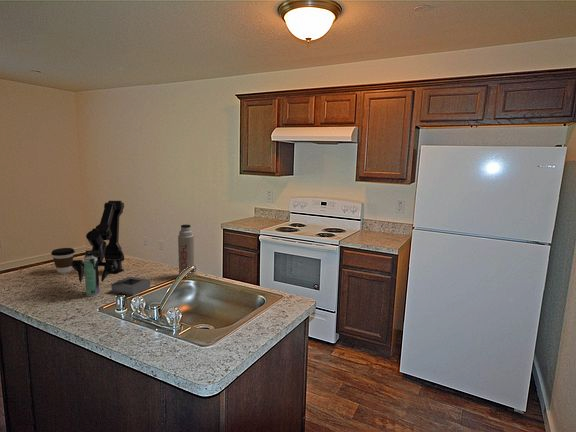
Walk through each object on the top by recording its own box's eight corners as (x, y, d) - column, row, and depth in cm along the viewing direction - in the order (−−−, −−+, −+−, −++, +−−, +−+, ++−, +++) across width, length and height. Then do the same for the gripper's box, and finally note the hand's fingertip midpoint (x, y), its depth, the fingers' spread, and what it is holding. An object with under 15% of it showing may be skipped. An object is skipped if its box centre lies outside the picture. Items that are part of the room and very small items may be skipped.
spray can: (102, 293, 169) (99, 251, 166) (91, 297, 165) (88, 254, 161) (94, 291, 172) (91, 250, 168) (83, 295, 167) (80, 253, 163)
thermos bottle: (188, 279, 191) (187, 227, 187) (175, 277, 194) (174, 225, 190) (197, 274, 199) (196, 224, 194) (185, 272, 202) (184, 223, 197)
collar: (130, 284, 182) (129, 276, 182) (150, 287, 179) (149, 279, 178) (111, 292, 171) (111, 284, 170) (132, 296, 167) (132, 287, 167)
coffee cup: (49, 271, 198) (47, 250, 196) (70, 267, 206) (69, 246, 204) (57, 276, 191) (55, 253, 189) (79, 271, 200) (78, 249, 198)
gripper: (71, 243, 167) (62, 273, 158) (114, 242, 170) (108, 272, 161) (79, 255, 176) (71, 284, 167) (120, 254, 179) (114, 283, 170)
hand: (91, 281), depth 166 cm, fingers open, 9 cm apart
